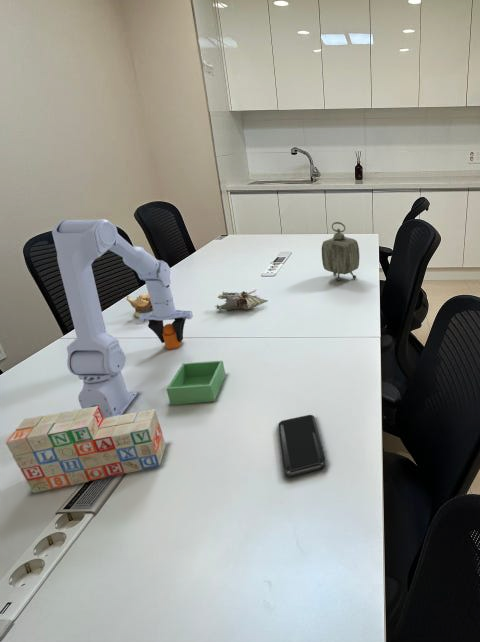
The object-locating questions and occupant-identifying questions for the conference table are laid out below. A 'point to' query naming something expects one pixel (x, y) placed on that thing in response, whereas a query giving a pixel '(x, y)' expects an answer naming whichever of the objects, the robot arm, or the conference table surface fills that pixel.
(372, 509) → the conference table surface
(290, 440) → the phone
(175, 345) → the cylinder
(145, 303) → the yellow brown ornament
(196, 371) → the green bin
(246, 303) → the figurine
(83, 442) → the stack of blocks
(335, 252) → the tabletop clock
